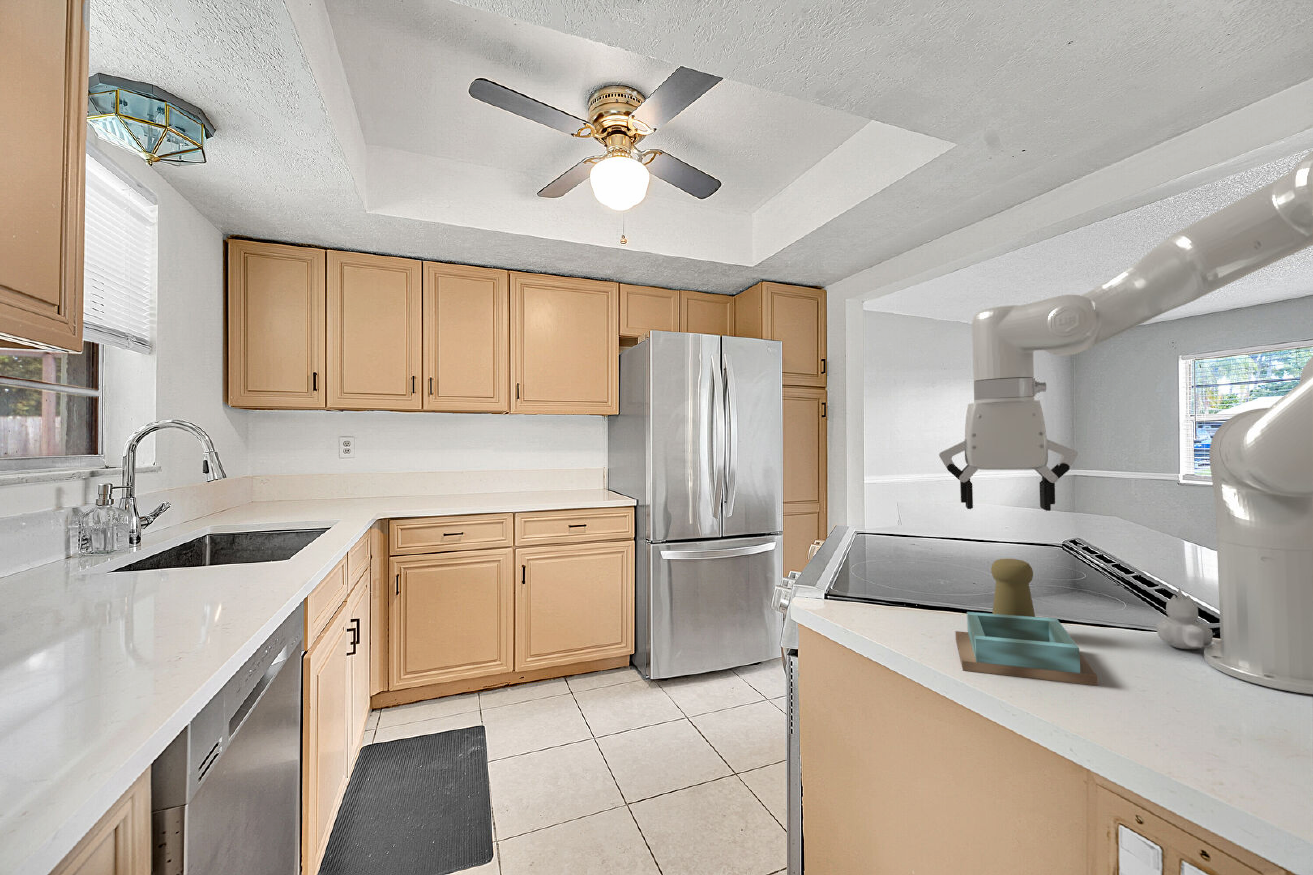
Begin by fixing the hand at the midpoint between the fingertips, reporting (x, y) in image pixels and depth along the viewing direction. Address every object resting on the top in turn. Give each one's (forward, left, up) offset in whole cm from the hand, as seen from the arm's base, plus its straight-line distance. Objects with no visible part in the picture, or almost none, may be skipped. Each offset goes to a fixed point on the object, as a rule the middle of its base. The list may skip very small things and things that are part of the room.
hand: (1006, 508), depth 82 cm
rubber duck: (-20, 0, -19) cm, 27 cm away
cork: (0, 0, -19) cm, 19 cm away
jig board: (+1, +10, -19) cm, 21 cm away
